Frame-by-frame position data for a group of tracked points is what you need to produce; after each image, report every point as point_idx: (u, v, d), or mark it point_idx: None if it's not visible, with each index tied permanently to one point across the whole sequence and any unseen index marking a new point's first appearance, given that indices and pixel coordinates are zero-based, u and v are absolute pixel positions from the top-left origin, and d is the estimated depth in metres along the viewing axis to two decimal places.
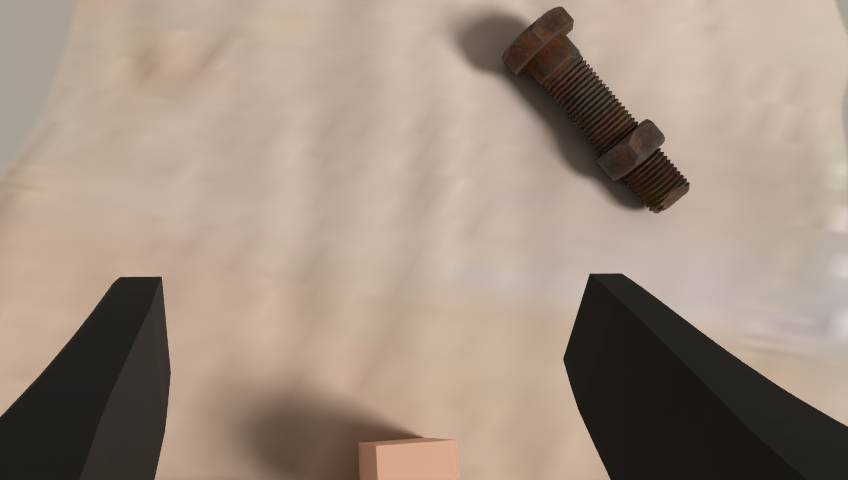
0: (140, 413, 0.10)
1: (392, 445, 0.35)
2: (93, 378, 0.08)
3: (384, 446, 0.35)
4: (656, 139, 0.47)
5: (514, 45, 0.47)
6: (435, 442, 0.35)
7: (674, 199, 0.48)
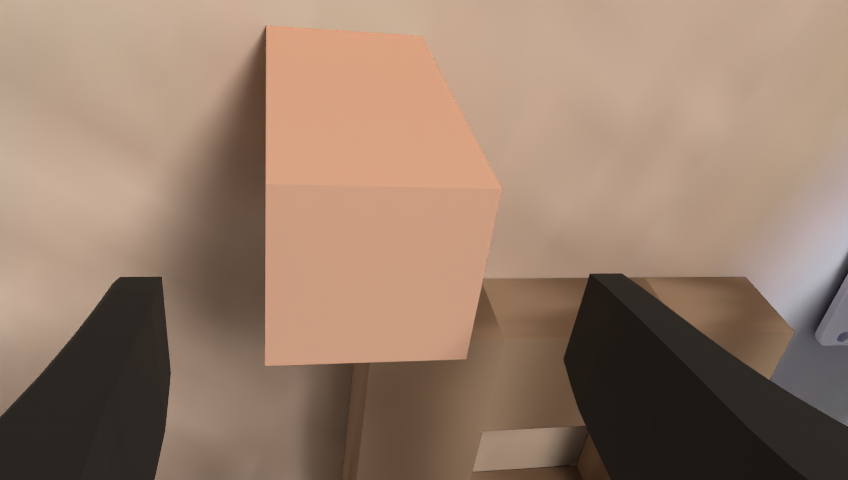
0: (140, 413, 0.10)
1: (267, 330, 0.13)
2: (93, 378, 0.08)
3: (268, 349, 0.14)
4: None
5: None
6: (268, 238, 0.12)
7: None
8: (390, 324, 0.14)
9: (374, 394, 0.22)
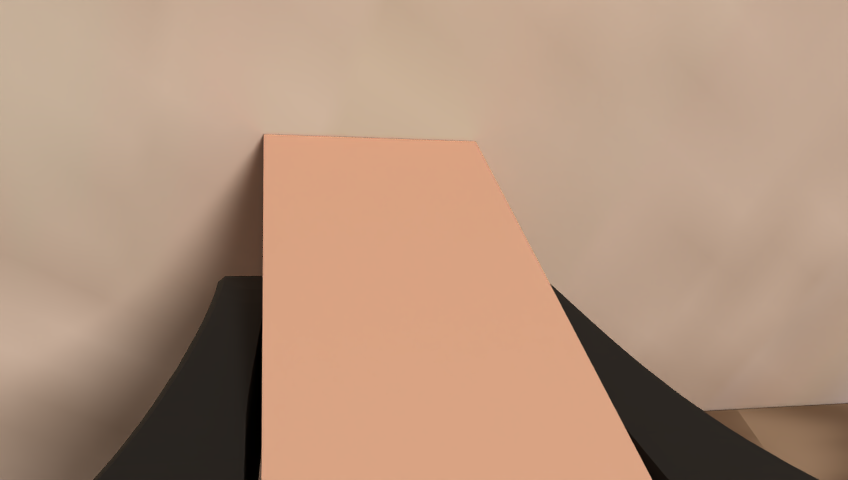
0: (257, 408, 0.10)
1: None
2: (228, 373, 0.09)
3: None
4: None
5: None
6: None
7: None
8: None
9: None
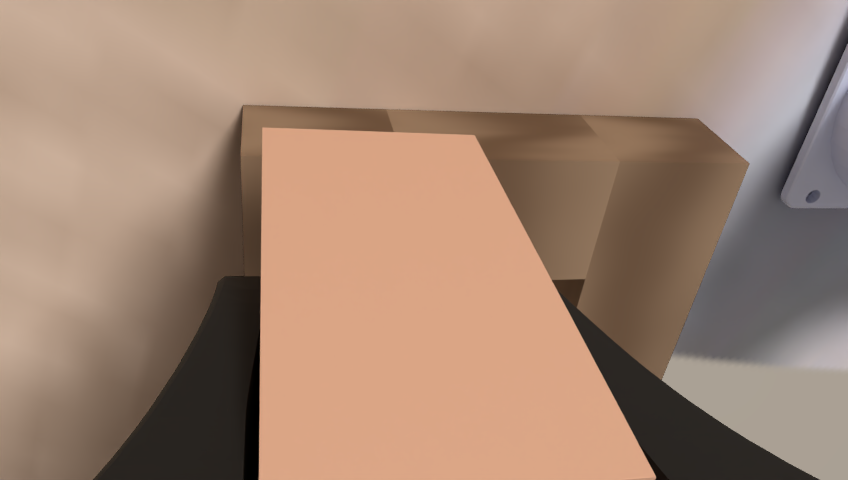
0: (257, 408, 0.10)
1: None
2: (228, 373, 0.09)
3: None
4: None
5: None
6: None
7: None
8: None
9: (252, 227, 0.19)
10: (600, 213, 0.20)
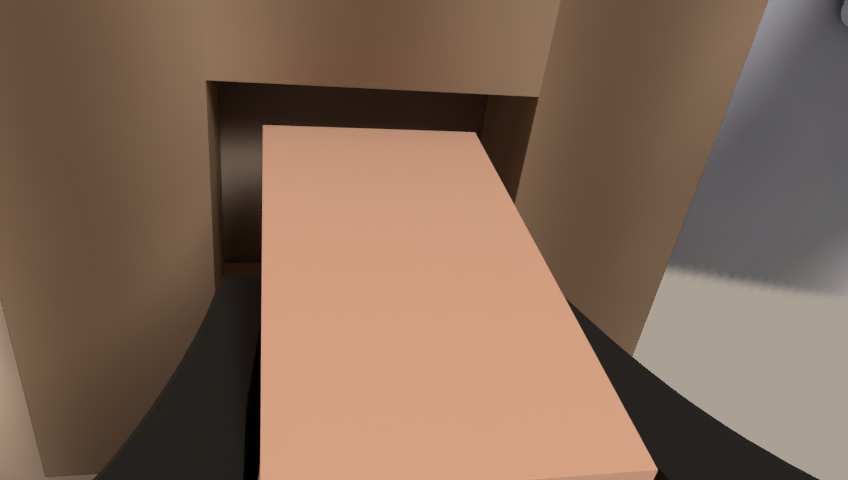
0: (257, 408, 0.10)
1: None
2: (228, 373, 0.09)
3: None
4: None
5: None
6: None
7: None
8: None
9: None
10: None
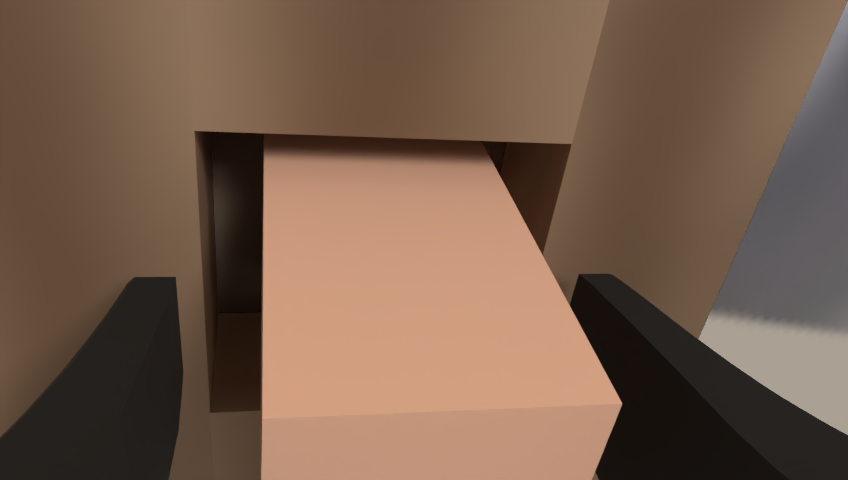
0: (156, 412, 0.10)
1: None
2: (112, 377, 0.08)
3: None
4: None
5: None
6: None
7: None
8: None
9: None
10: (601, 1, 0.11)
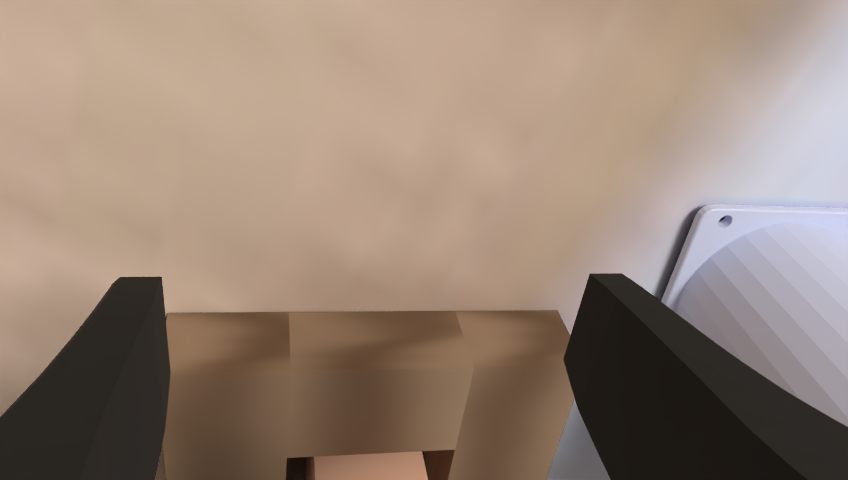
0: (140, 413, 0.10)
1: None
2: (93, 378, 0.08)
3: None
4: None
5: None
6: None
7: None
8: None
9: (168, 423, 0.23)
10: (462, 404, 0.25)
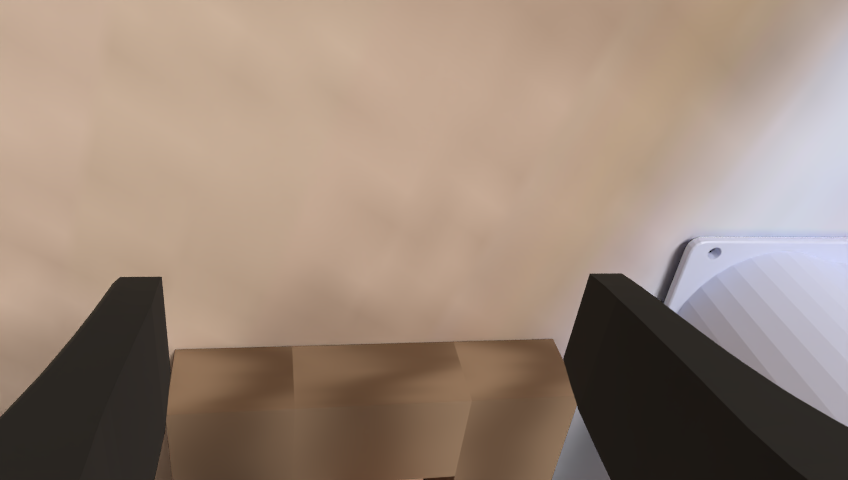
0: (140, 413, 0.10)
1: None
2: (93, 378, 0.08)
3: None
4: None
5: None
6: None
7: None
8: None
9: (177, 458, 0.24)
10: (460, 433, 0.26)
